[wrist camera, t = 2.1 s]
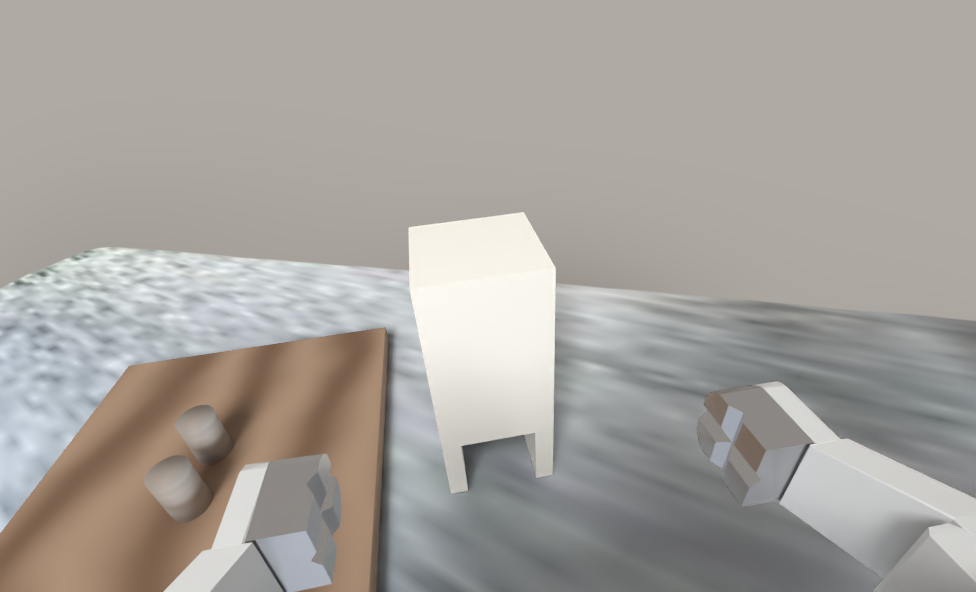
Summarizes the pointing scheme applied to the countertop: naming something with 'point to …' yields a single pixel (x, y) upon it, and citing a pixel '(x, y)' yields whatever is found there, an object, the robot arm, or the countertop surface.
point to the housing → (486, 334)
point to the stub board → (204, 464)
